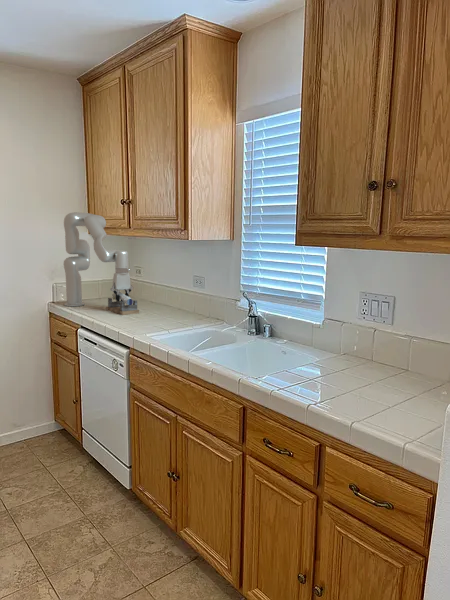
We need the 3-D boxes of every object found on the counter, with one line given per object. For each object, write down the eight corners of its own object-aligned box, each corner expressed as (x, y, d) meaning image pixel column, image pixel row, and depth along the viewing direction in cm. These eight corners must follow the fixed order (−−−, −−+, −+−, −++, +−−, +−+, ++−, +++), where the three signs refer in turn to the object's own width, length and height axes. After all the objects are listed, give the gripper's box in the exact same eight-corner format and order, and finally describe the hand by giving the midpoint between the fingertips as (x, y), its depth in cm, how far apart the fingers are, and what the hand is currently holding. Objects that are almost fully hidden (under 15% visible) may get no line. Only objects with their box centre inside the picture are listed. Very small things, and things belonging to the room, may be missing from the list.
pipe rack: (106, 309, 284) (106, 297, 283) (122, 308, 291) (122, 296, 290) (122, 315, 268) (122, 302, 267) (139, 313, 275) (139, 300, 274)
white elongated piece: (125, 298, 266) (111, 287, 285) (125, 309, 268) (110, 297, 287) (134, 298, 269) (119, 287, 288) (133, 309, 270) (118, 297, 290)
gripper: (131, 269, 284) (131, 298, 287) (105, 271, 273) (106, 301, 276) (137, 270, 278) (137, 300, 281) (111, 272, 267) (112, 302, 270)
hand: (122, 300), depth 278 cm, fingers closed on white elongated piece, 5 cm apart
